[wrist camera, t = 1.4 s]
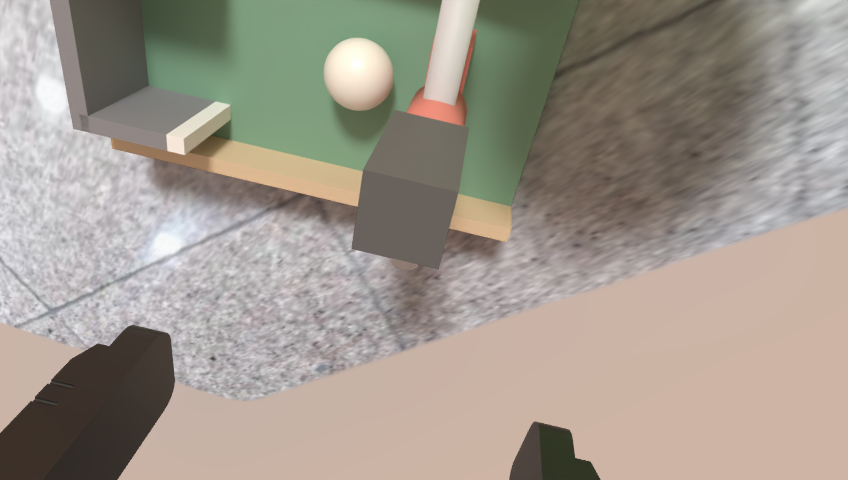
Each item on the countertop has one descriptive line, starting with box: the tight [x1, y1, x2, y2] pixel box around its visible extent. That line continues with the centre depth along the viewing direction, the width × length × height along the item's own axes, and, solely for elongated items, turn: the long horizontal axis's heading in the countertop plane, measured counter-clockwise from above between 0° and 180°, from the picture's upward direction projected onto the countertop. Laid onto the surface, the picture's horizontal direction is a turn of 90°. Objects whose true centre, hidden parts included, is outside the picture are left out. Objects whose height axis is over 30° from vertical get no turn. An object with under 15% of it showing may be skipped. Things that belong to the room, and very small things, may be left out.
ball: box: [323, 38, 394, 111], centre depth 30 cm, size 4×4×4 cm
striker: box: [352, 0, 480, 271], centre depth 25 cm, size 3×17×16 cm, turn 169°
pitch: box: [50, 0, 579, 242], centre depth 30 cm, size 26×16×7 cm, turn 79°
